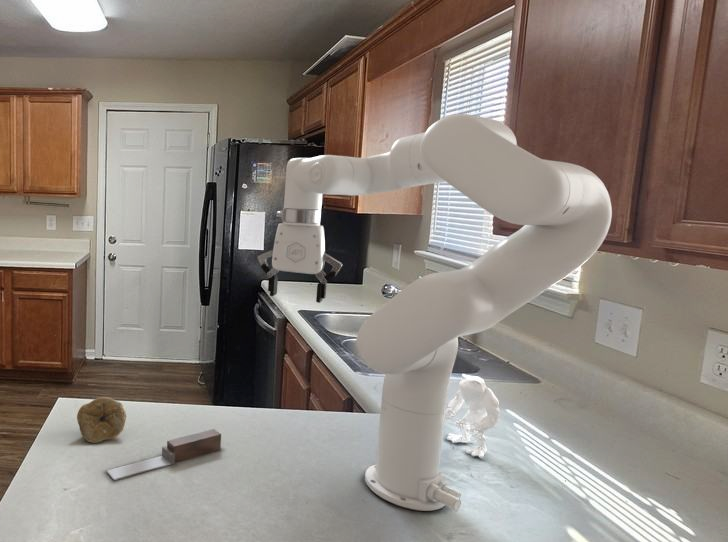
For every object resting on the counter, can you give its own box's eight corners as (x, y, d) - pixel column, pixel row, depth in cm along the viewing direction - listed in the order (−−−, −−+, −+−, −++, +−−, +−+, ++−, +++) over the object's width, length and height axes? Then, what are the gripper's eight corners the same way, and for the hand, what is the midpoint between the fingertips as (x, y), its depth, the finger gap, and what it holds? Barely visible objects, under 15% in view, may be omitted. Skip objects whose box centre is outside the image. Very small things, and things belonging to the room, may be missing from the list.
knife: (211, 443, 99) (212, 428, 99) (221, 450, 97) (222, 434, 96) (106, 471, 88) (106, 454, 88) (114, 481, 85) (115, 463, 85)
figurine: (505, 461, 96) (513, 387, 95) (473, 462, 95) (482, 387, 94) (463, 434, 107) (470, 367, 105) (434, 435, 106) (441, 367, 105)
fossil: (71, 405, 101) (117, 389, 105) (71, 414, 104) (114, 398, 108) (86, 447, 96) (133, 429, 100) (85, 455, 99) (131, 436, 103)
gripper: (255, 216, 105) (250, 295, 107) (342, 221, 96) (335, 307, 98) (265, 215, 111) (261, 290, 113) (348, 220, 103) (341, 301, 105)
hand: (295, 298), depth 106 cm, fingers open, 9 cm apart
